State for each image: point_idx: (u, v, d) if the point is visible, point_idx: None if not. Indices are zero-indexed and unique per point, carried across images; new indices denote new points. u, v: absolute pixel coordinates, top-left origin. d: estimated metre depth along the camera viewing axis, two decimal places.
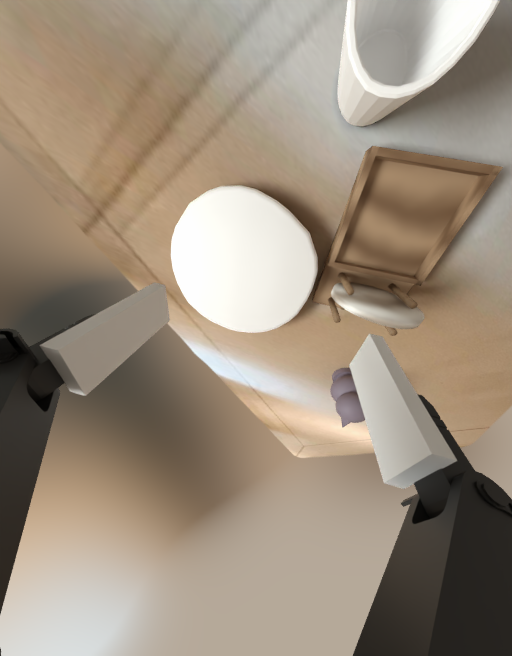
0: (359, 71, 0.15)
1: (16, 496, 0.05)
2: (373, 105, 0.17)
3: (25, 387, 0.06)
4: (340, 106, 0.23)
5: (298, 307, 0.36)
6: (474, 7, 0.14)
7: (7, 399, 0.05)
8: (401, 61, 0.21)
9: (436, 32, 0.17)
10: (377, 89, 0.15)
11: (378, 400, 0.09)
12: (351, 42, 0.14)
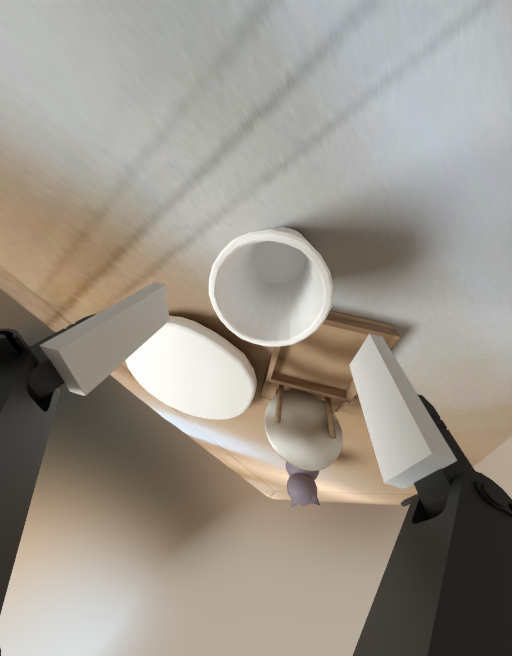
0: (230, 329, 0.17)
1: (16, 496, 0.05)
2: None
3: (25, 387, 0.06)
4: None
5: (243, 408, 0.38)
6: (318, 298, 0.16)
7: (7, 399, 0.05)
8: (301, 254, 0.23)
9: (312, 267, 0.19)
10: (248, 340, 0.18)
11: (378, 399, 0.09)
12: (218, 314, 0.17)
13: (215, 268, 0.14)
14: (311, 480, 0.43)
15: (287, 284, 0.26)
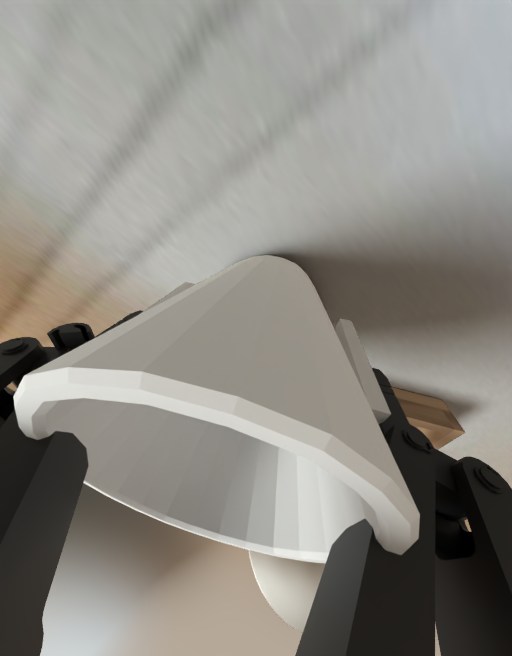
0: (136, 509, 0.07)
1: (72, 481, 0.05)
2: None
3: None
4: None
5: None
6: None
7: None
8: None
9: None
10: (181, 527, 0.08)
11: None
12: (97, 490, 0.07)
13: (26, 430, 0.04)
14: None
15: None
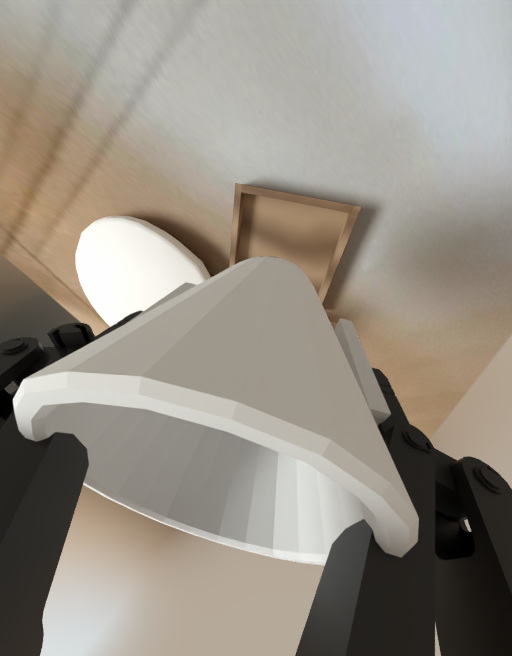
0: (135, 511, 0.07)
1: (72, 481, 0.05)
2: None
3: None
4: None
5: None
6: None
7: None
8: None
9: None
10: (180, 529, 0.08)
11: None
12: (97, 491, 0.07)
13: (25, 433, 0.04)
14: None
15: None
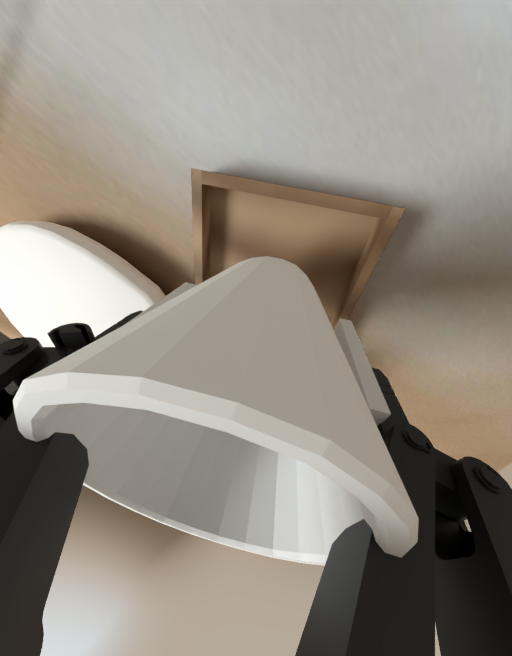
0: (135, 511, 0.07)
1: (72, 481, 0.05)
2: None
3: None
4: None
5: None
6: None
7: None
8: None
9: None
10: (180, 529, 0.08)
11: None
12: (97, 491, 0.07)
13: (25, 433, 0.04)
14: None
15: None
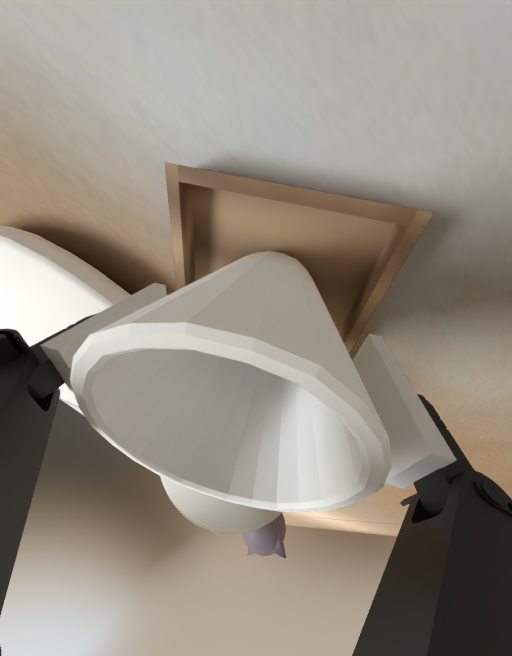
0: (155, 472, 0.08)
1: (17, 496, 0.05)
2: None
3: (26, 387, 0.06)
4: None
5: None
6: (339, 431, 0.07)
7: (8, 399, 0.05)
8: None
9: None
10: (194, 490, 0.09)
11: (378, 399, 0.09)
12: (124, 452, 0.08)
13: (76, 389, 0.06)
14: None
15: None
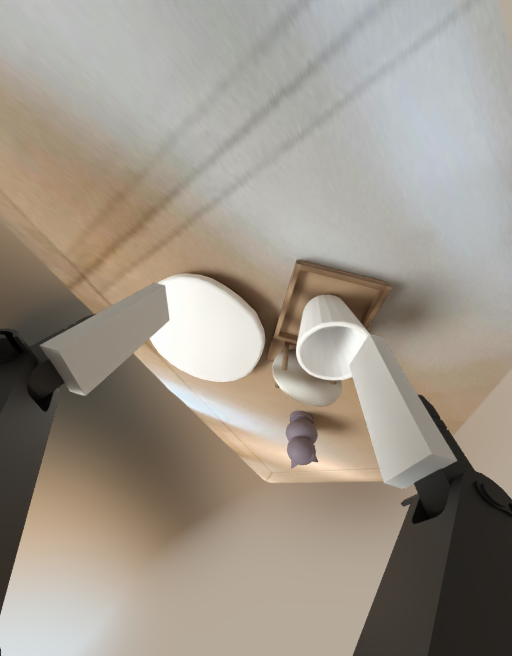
0: (304, 368, 0.27)
1: (16, 496, 0.05)
2: None
3: (25, 387, 0.06)
4: None
5: (250, 367, 0.42)
6: None
7: (7, 399, 0.05)
8: None
9: None
10: (315, 375, 0.28)
11: (378, 399, 0.09)
12: (299, 359, 0.27)
13: (305, 336, 0.24)
14: (310, 441, 0.46)
15: (328, 330, 0.36)
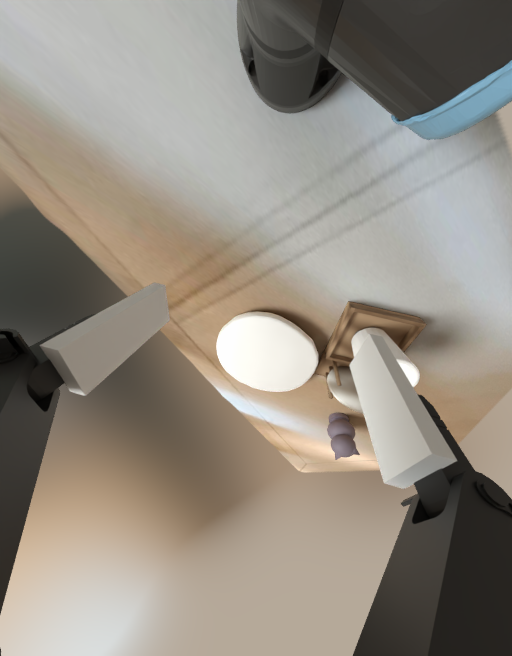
0: None
1: (16, 496, 0.05)
2: None
3: (25, 387, 0.06)
4: None
5: (304, 380, 0.52)
6: (407, 377, 0.36)
7: (7, 399, 0.05)
8: None
9: None
10: None
11: (378, 400, 0.09)
12: None
13: None
14: (351, 438, 0.57)
15: None
